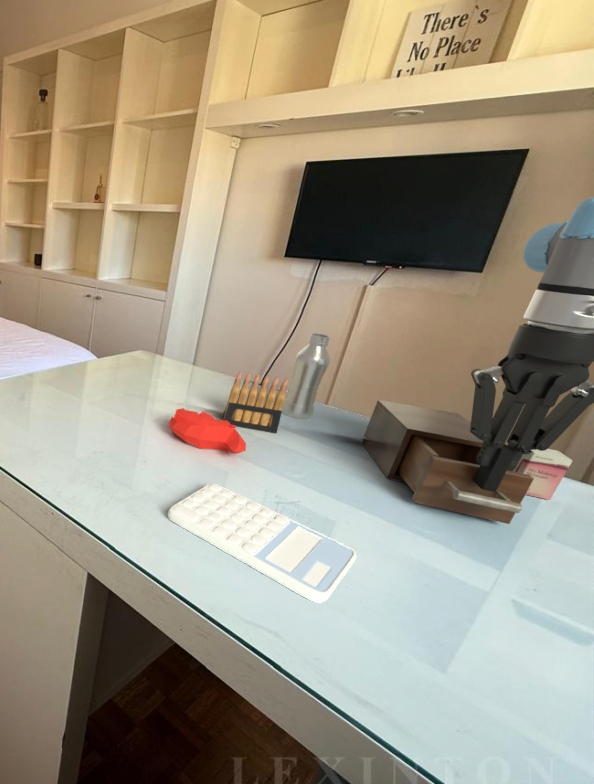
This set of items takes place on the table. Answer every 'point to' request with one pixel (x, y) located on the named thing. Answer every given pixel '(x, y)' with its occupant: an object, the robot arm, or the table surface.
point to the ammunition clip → (255, 404)
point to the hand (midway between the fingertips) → (483, 486)
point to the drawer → (458, 480)
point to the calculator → (266, 541)
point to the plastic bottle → (307, 377)
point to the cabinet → (410, 432)
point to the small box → (543, 471)
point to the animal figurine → (206, 431)
